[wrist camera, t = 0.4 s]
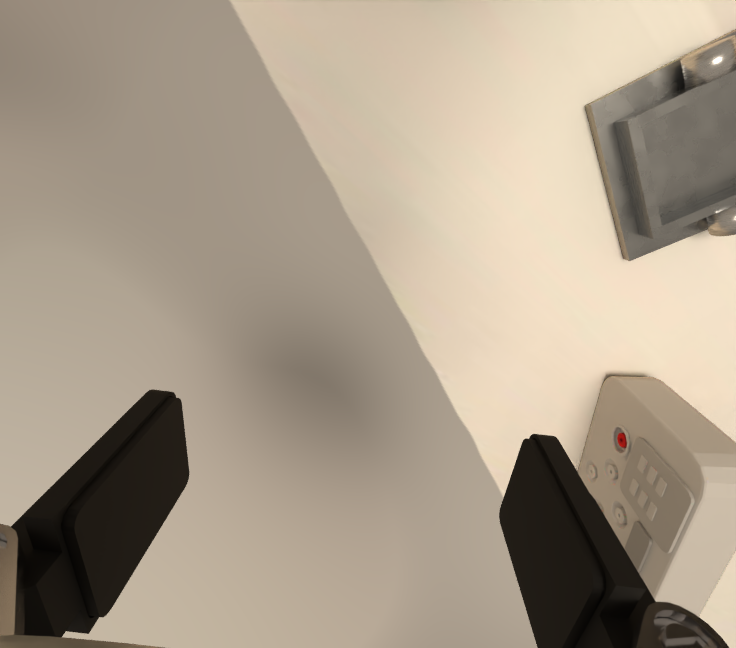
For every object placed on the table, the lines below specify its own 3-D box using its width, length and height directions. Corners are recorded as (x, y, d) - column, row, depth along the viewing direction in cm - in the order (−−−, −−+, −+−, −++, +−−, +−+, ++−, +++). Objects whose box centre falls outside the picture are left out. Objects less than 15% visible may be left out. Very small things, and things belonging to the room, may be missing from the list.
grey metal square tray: (584, 105, 38) (610, 99, 34) (791, 0, 34) (850, -22, 30) (623, 258, 44) (649, 270, 40) (804, 183, 40) (855, 187, 36)
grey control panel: (587, 367, 50) (686, 473, 33) (649, 369, 50) (778, 476, 33) (546, 525, 61) (604, 661, 45) (596, 527, 61) (673, 665, 45)
